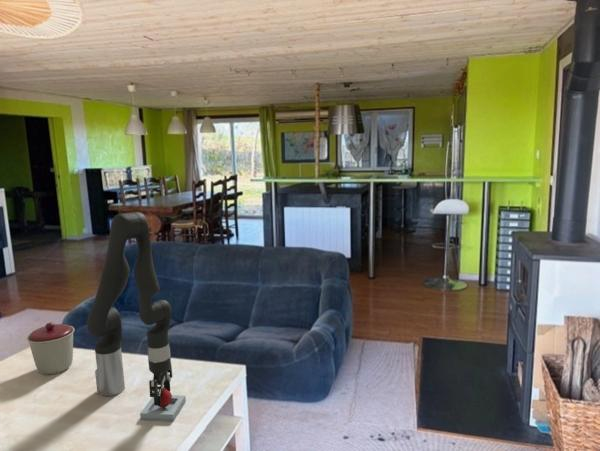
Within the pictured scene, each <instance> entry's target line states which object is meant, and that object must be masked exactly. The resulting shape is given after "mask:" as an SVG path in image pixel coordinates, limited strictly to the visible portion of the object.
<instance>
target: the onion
mask: <svg viewBox="0 0 600 451" xmlns="http://www.w3.org/2000/svg"><path fill="white" fill-rule="evenodd" d="M160 395H161V405H160V406H159V407H161V408H165V407H166V406H168V405H169V404H170V403H171V400H172V395H173V394H172V393H171V391H170V392H169V391H168V390H166V389H165V387H164V386H163V389H161V393H160Z"/></svg>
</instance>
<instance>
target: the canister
mask: <svg viewBox="0 0 600 451" xmlns="http://www.w3.org/2000/svg"><path fill="white" fill-rule="evenodd" d="M74 332H75V327H73V325H69V324H64V323H56V324H55V323H54V322H52V321H51V322H47V323H46V324H45V325H44V326H42V327H39V328H36V329H35V330H33V331H32V332H30V333H29V334H27V336H26V341H27V342H28V343H29V347H30V350H31V355H32V358H33V363H34V365H35V367H36V370H37V372H39V374H42V375H56V374H60V373H62V372H65V371H66V370H67V369H69V368H70V367H71V365H72V364H73V357H74Z"/></svg>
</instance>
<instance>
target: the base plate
mask: <svg viewBox="0 0 600 451" xmlns="http://www.w3.org/2000/svg"><path fill="white" fill-rule="evenodd" d="M171 395H172V400H171V403H170V404H169V405H168V406H166V407H165V408H161V407H159V406H156V405H154V397H150V399H149V401H148V402H147V404H146V405H145V406H144V408H143V409H142V410H141V411H140V413H139V416H140V420H141V421H160V422H175V420H176V418H177V416H178V415H179V414H180V412H181V411H182V409H183V407H184V406H185V404H186V402H187V399H186V395H174V394H171Z"/></svg>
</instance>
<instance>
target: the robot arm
mask: <svg viewBox="0 0 600 451" xmlns="http://www.w3.org/2000/svg"><path fill="white" fill-rule="evenodd" d="M108 236H109V237H108V244H107V245H108V246H107V250H106V255H105V260H104V264H103V267H102V271H101V273H100V274H101V275H100V279H99V284H98V287H97V291H96V294H95V298H94V301H93V305H92V306H91V309H90V311H89V314H88V317H87V320H86V327H87V331H88V333H89V335H90V336H92V337H95V338H99V337H100V338H99V339H98V340H97V341H96V342H95V344H94V353H95V362H96V369H95V371H94V376H95V385H96V394H99V395H101V396H102V397H103V396H104V397H111V396H116V395H119V394H120V393H122V392H123V391H124V390H125V388H126V386H125V376H124V374H125V373H124V365H123V355H122V344H121V343H122V341H123V331H122V330H123V329H122V328H123V327H122V325H123V324H122V318H121V314H120V312H119V311H118V309H116V308H115V307H113V306H114V304H115V303H116V301H117V300H118V299H119V297H120V296H121V295H122V293H123V291H125V289H126V286H127V284H128V280H129V276H130V272H131V270H130V269H131V268H130V265H129V262H128V260H127V259H126V256H125V247H126V244H127V241H128V240H134V239H135V241H136V245H137V257H136V260H135V265H134V273H133V274H134V275H133V276H134V280H135V284H136V286H137V287H136V288H137V291H138V300H139V301H138V303H139V309H138V310H139V311H138V312H139V318H140V321H141V322H142V323H143V324H145V325H146V326H151V325H153V326H152V327H151V328H150V329H148V330H147V333H146V342H147V360H148V370H149V372H150V373H151V374H153V379H152V380H151V379H150V380H149V382H148V383H149V384H148V385H149V386H148V388H149V397H150V398H152V397H154V405H156V406H160V405H161V395H160V393H161V389H163V387H165V389H166V390H168V391H169V392H170V393H171V381H172V380H171V379H172V378H173V368H172V360H171V348H170V343H169V341H170V340H169V329H170V325H171V321H172V320H171V319H172V315H173V314H172V306H171V304H170V303H169V301H167V300H165V299H159V300H156V301H154V302H152V298H153V297H154V296H155V295H158V293H160V291H161V288H160V284H159V280H158V277H157V274H156V270H155V266H154V260H153V252H152V244H151V236H150V229H149V223H148V220H147V217H146V216H145V214H144V213H142V212H140V211H134V212H125V213H118V214H115V215H114V216H113V219H112V221H111V224H110V229H109V235H108ZM154 324H155V325H154Z"/></svg>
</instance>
